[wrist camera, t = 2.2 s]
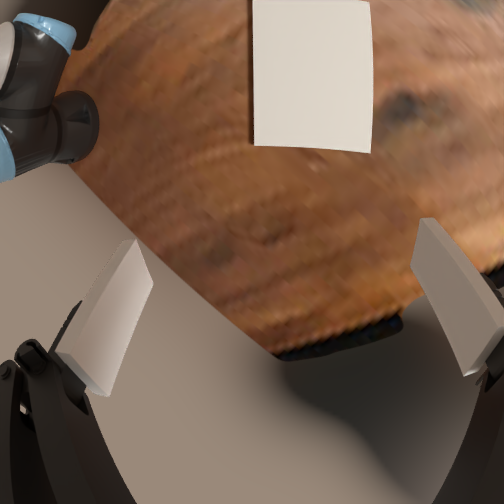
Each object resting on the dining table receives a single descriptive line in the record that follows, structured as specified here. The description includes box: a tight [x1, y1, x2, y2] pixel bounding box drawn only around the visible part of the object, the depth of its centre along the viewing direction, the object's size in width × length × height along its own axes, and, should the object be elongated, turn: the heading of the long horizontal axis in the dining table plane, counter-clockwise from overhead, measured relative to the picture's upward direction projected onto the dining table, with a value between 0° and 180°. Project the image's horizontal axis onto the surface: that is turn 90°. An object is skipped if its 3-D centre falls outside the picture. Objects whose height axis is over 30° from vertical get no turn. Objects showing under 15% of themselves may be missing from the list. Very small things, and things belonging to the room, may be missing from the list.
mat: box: [253, 0, 373, 153], centre depth 35 cm, size 26×18×1 cm
